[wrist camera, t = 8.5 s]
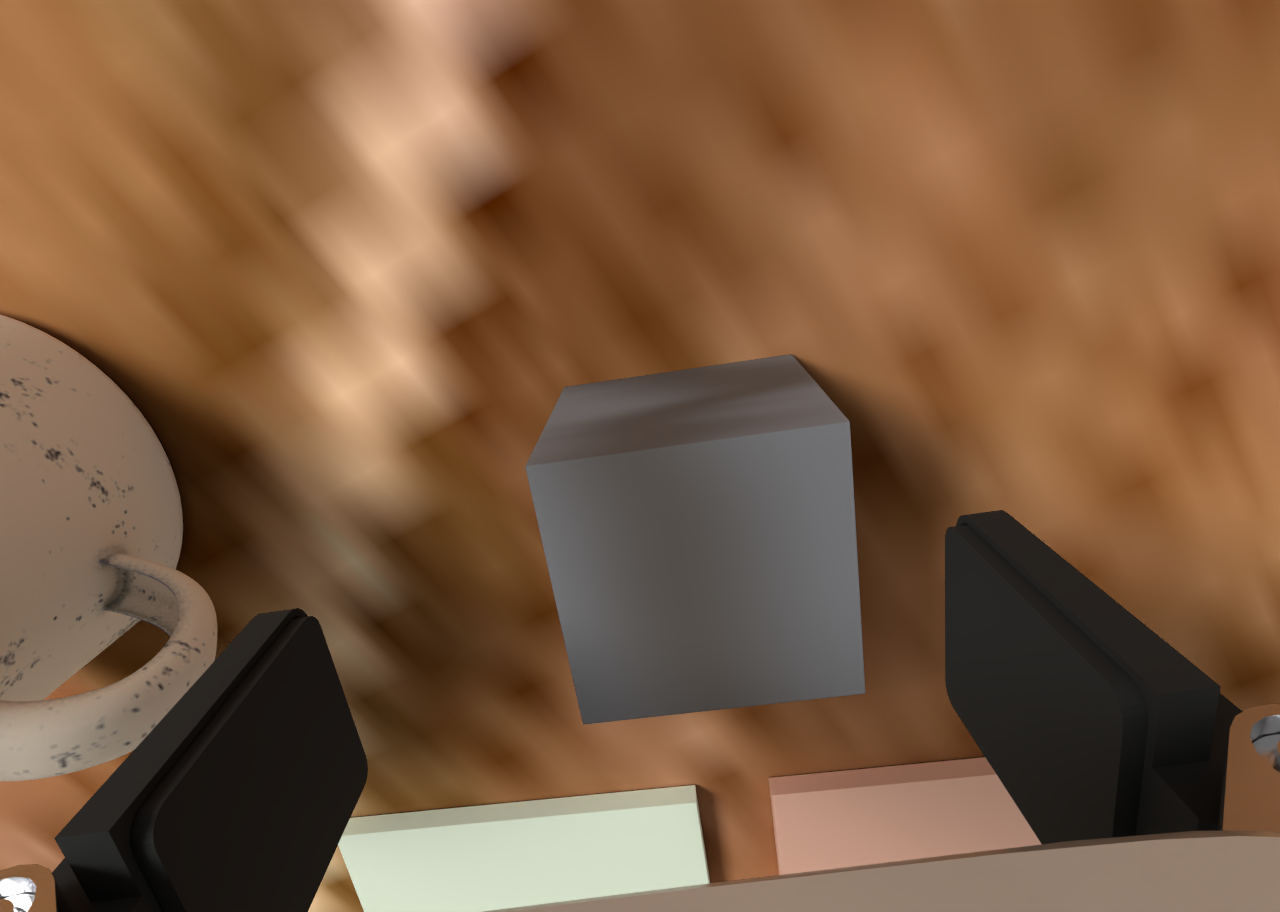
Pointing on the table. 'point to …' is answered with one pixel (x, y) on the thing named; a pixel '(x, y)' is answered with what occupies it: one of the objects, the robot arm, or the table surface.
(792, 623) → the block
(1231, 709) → the robot arm
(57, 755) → the teacup with lid
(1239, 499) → the table surface
